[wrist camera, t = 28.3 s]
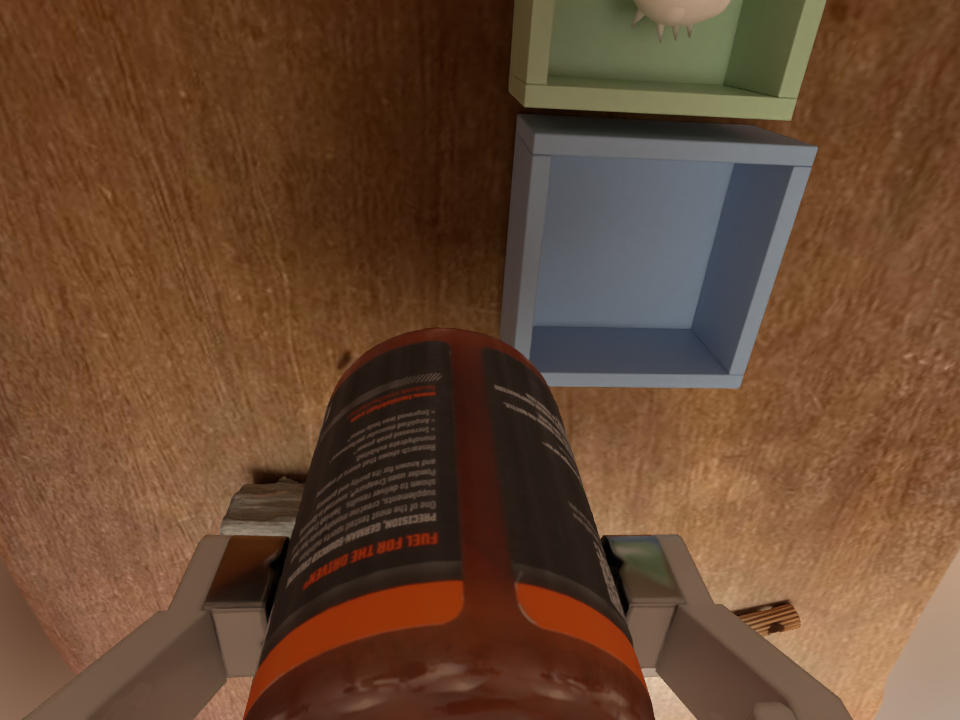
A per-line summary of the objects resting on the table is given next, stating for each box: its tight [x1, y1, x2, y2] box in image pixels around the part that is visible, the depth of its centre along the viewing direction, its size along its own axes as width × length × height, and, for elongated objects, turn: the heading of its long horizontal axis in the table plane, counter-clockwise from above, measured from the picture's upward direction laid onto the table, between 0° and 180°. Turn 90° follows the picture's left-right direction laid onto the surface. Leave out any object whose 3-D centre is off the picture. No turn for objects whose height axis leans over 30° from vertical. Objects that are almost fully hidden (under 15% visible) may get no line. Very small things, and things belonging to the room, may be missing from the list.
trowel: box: [641, 604, 801, 677], centre depth 47 cm, size 4×3×20 cm
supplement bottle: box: [243, 327, 655, 720], centre depth 10 cm, size 6×6×11 cm
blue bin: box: [500, 114, 818, 388], centre depth 28 cm, size 12×12×6 cm
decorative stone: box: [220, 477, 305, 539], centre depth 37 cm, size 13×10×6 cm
